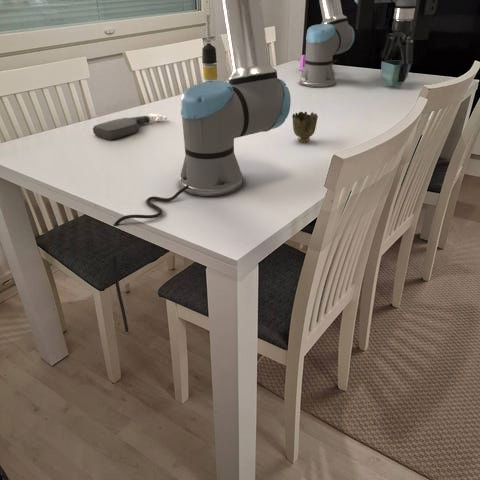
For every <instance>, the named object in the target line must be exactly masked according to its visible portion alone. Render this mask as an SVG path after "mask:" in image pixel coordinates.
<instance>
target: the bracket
mask: <svg viewBox="0 0 480 480" xmlns="http://www.w3.org/2000/svg"><path fill="white" fill-rule="evenodd" d="M305 55H306V54H302V55H301V56H300V61H299V62H300V66H299V70H300V71H301V72H303V69H304V66H305Z"/></svg>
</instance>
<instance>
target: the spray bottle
mask: <svg viewBox="0 0 480 480" xmlns="http://www.w3.org/2000/svg"><path fill="white" fill-rule="evenodd" d="M167 120H168V117H167V116H165V115H162V114H158V113H152V112H151V113H149V114H147V115H141V116H133V117H132V116H131V117H121V118H116V119H112V120H107V121H105V122H102V123H98V124H95V125H94V126H93V127H92V131H93V134H94V135H95V136H96V137H99V138H102V139H105V140H110V141H111V140H116V139H121V138H123V137H127V136H129V135H133V134H135V133H137V132H138V131H139V127H140V126H141V125H144V124H149V123H150V122H152V121H154V123H155V122H157V121H167Z"/></svg>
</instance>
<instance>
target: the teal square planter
mask: <svg viewBox="0 0 480 480" xmlns="http://www.w3.org/2000/svg"><path fill="white" fill-rule="evenodd" d="M380 62H381V65H380V72H381V73H380V75H381V80H382V82H383V84H384V85H387V86H390V87H396V86H401V85H403V83H404V82H398V78H399V72H400V66H401V64H402V61H401V59H400V60H399V59H398V60H394V61H383V62H382V61H380ZM411 66H412V64H410V65H408V68H407V73H406V75H405V80H406V79H408V76H409V73H410V70H411Z"/></svg>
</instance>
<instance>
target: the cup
mask: <svg viewBox="0 0 480 480" xmlns="http://www.w3.org/2000/svg"><path fill="white" fill-rule="evenodd" d="M291 116H292V117H291V118H292V130H293V133H294V135H295V136H296V137H297V141H298V142H299V143H301V144H302V143H303V144H304V143H305V144H306V143H308V142H310V139H311V137H312V136H313V135H314V134H315V132H316V128H317V123H318V118H319V115H318V114H317V113H314V112H313V111H311V112H310V113H309V114H308V112H307V111H304V112H303V111H299V112H295V113H292V115H291Z"/></svg>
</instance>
